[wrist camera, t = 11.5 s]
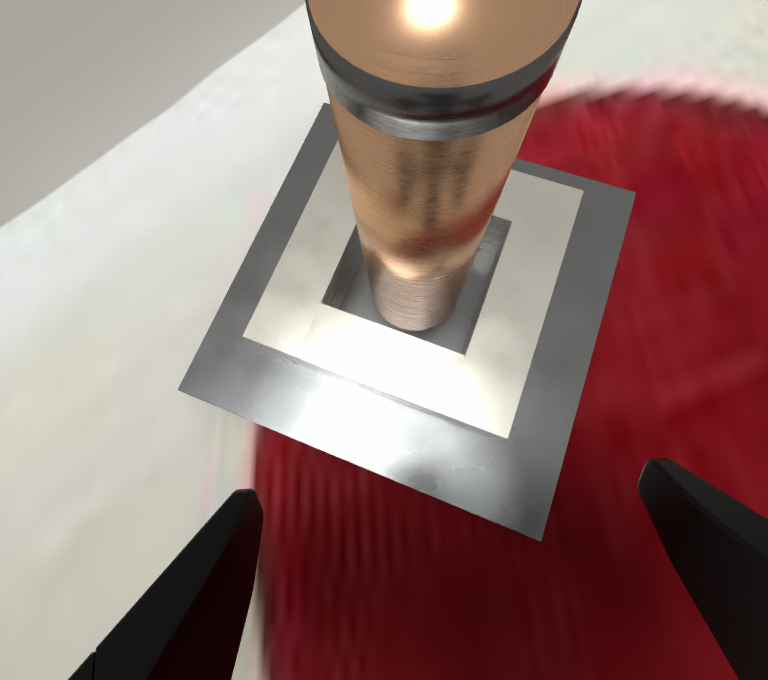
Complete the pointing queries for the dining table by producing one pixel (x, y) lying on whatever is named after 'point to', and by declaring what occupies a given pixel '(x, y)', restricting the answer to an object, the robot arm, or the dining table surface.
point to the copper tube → (431, 129)
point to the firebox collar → (422, 338)
